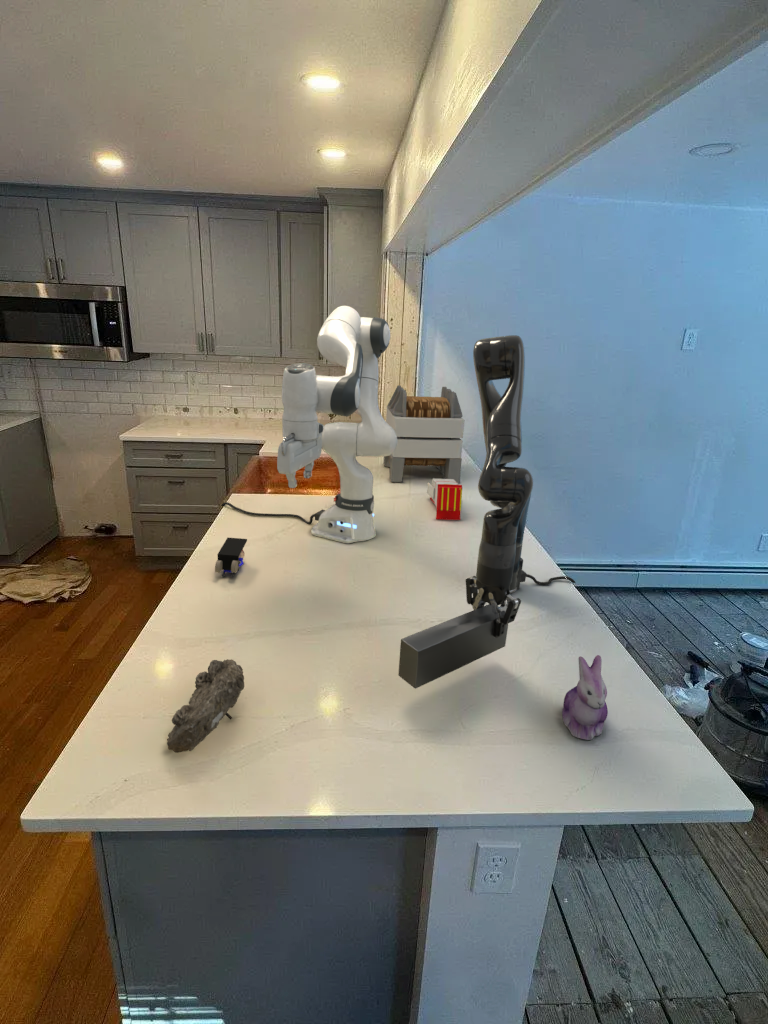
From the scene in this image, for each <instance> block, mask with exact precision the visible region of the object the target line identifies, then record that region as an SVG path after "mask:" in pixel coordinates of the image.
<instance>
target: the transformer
mask: <svg viewBox="0 0 768 1024" xmlns="http://www.w3.org/2000/svg"><path fill="white" fill-rule="evenodd" d="M440 393H441V394H440V396H415V395H414V396H413V395H412V396H411V395H407V394H408V393H407V390H406V389H404V388H403V387H402V385H399V384H398V385H397V386H396V388H395V390H394V392H393V394H392V395H391V398H390V400H389V402H388V404H387V405H386V413H385V414H386V415H385V421H386V423H387V424H388V425H389V426H391V427H392V428H393V429H394V431H395V433H396V435H397V446H396V449H395V450H394V452H393V453H392V454H391V455H390V456H384V457H383V466H384V467H388V468H389V475H388V476H389V477H388V478H389V480H390V482H391V483H402V482H403V475H404V469H405V466H406V467H407V466H411V467H412V466H413V467H415V466H416V467H417V466H418V467H436V468H437V470H438V469H439V473H440V474H441V475H443V479H454V480H455V481H456V482H457V483H458V484H459V483H461V472H462V461H463V460H462V453H463V442H464V441H463V440H462V439H463V438H464V431H465V430H464V429H465V419H464V418H463V411H462V408H461V405H460V402H459V398H458V395H457V392H455V391H453V390H452V389H451V388H447V386H442V387H441V392H440Z"/></svg>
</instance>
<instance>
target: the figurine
mask: <svg viewBox="0 0 768 1024" xmlns="http://www.w3.org/2000/svg"><path fill="white" fill-rule="evenodd" d="M602 663H603V660H602V656H601V655H600V654H597V655H595V657H594V658H593V660H592V663H591V664H590V665H589V664H588V662H587V660H586V659H585V658H584V657H583V656H578V674H579V680H578V682H577V685H576V686H574V687H572V688H571V689H569V690H568V691H567V692H566V693H565V696H564V699H563V703H562V704H563V706H562V710H561V714H562V715H561V716H562V721H563V724H564V725H565V727H566V728H567V729H568V730H569V732H570V734H571V735H572V736H573V737H574V738H577V739H581V740H584V741H585V740H587V741H589V740H590V741H591V740H593V739H594V737H599V736H600V735H601V734H602V732H603V729H604V726H605V725H604V724H605V722H606V721H607V718H608V714H609V711H608V710H609V709H608V705H607V701H606V700H607V696H608V690H607V686H606V683H605V680H604V679H603V677H602Z"/></svg>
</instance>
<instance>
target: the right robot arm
mask: <svg viewBox="0 0 768 1024" xmlns="http://www.w3.org/2000/svg"><path fill="white" fill-rule="evenodd" d="M472 352H473V353H472V354H473V355H472V356H473V357H472V358H473V366H474V372H475V378H476V382H477V387H478V394H479V398H480V399H479V400H480V405H481V406H480V407H481V417H482V418H481V419H482V430H483V439H484V445H485V453H486V454H485V460H484V464H483V467H482V469H481V472H480V475H479V479H478V483H477V490H478V494H479V495H480V497H481V498H482V499H483V500H485V501H487V502H489V503H490V504H491V506H493V507H496V508H497V509H491V510H488V511H487V512H485V514H484V516H483V521H482V529H481V537H480V538H481V539H480V543H479V545H478V546H479V547H478V555H477V564H476V571H475V572H476V574H475V575H473V576H470V577H467V578H466V579H465V591H466V592H465V594H466V595H465V596H466V603H467V604H468V605H471V606H472V609H473V610H476V609H478V608H481V607H483V606H486V604H490V605H491V607H492V612H493V613H494V614H495V620H496V622H495V627H494V634H493V636H494V637H496V638H498V637H500V636H502V635H503V634H504V630H505V625H506V624H508V625H509V624H510V623H514V622H515V621H516V617H517V614H518V611H519V609H520V606H521V603H522V600H521V598H519V597H517V598H515V597H513V596H512V595H511V594H513V593H515V592H516V591H518V590H520V587H521V583H526V579H527V578H528V579H530V580H532V581H533V582H534V584H536V585H539V586H549V585H551V583H552V582H553V581H559V580H567V581H569V582H571V583H572V584H576V581H575V579H574V578H572V577H570V576H565V575H563V576H561V575H560V576H553V577H550V578H549V579H548V581H539V580H537V578H536V577H534V576H533V575H531V574H528V573H527V572H526V571H524V570H523V567H524V566H523V565H524V559H523V558H522V551H523V544H524V543H523V542H524V537H525V536H524V535H525V530H526V524H527V517H528V512H529V507H530V501H531V497H532V492H533V488H534V479H533V476H532V475H533V474H532V473H531V472H530V470H529V469H527V468H525V467H517V466H507V464H510V463H513V462H516V461H518V459H520V457H521V456H522V453H523V446H522V445H523V431H522V408H523V407H522V406H523V401H524V389H525V374H526V370H525V369H526V351H525V345H524V341H523V339H522V337H521V336H520V335H514V334H511V335H510V334H509V335H502V336H493V337H485V338H481V339H478V340H476V342H475V343H474V345H473V351H472ZM507 379H509V382H508V385H507V387H506V389H505V390H504V392H503V394H502V395H501V393H500V392H499V391H498V389H497V387H496V385H495V384H494V381H499V380H507ZM565 577H566V578H567V579H566V578H565ZM497 606H499V607H497ZM500 612H501V616H500Z"/></svg>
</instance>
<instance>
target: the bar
mask: <svg viewBox="0 0 768 1024" xmlns="http://www.w3.org/2000/svg"><path fill="white" fill-rule="evenodd" d="M497 607H500V605H498V606H497ZM500 616H501V612H500ZM495 622H496V620H495V614H494V613H493V612H492V607H491V605H490V604H489V603H487V604H485V605H484V606H483V607H481V608H478V609H476V610H474V609H473V610H470V611H468V612H466V613H465V612H464V614H461V615H458V616H455V617H453V618H450V619H447V620H446V621H445V620H444V621H443V622H440V623H437V624H435V625H432V626H430V627H428V628H425V629H422V630H421V631H417V632H415V633H413V634H410V635H407V636H405V637H403V638H401V639H400V645H399V646H400V647H399V663H398V674H397V675H398V677H399V678H401V679H402V680H403V681H405V682H406V683H407V684H408V685H409V686H411V687H412V688H413V689H418V688H420V687H423V686H424V685H428V683H431V682H433V681H435V680H437V679H439V678H441V677H443V676H446V675H448V674H450V673H452V672H454V671H456V670H458V669H461V668H463V667H466V666H467V665H469V664H472V663H473V662H475V661H477V660H480V659H482V658H483V657H486V656H487V655H491V654H492V653H495V652H496V651H498V650H501V649H502V648H505V647H506V644H507V637H508V629H509V623H508V624H506V625H505V630H504V634H503V635H502V636H500V637H498V638H496V637H494V636H493V634H494V627H495Z"/></svg>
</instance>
